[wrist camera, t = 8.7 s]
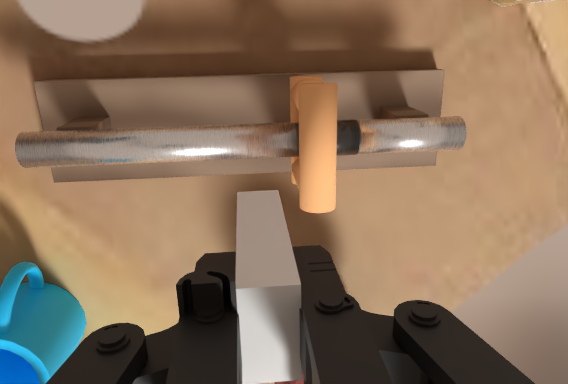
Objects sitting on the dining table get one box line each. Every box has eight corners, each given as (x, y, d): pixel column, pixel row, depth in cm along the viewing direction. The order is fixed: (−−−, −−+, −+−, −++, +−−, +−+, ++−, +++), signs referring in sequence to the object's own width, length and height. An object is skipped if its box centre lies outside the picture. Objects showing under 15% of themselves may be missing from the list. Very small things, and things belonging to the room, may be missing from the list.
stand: (42, 79, 35) (4, 87, 30) (437, 68, 37) (470, 74, 32) (61, 177, 38) (29, 200, 32) (429, 161, 40) (458, 180, 34)
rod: (36, 163, 31) (20, 173, 29) (29, 128, 31) (11, 135, 28) (448, 146, 34) (464, 154, 31) (452, 112, 33) (468, 118, 30)
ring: (288, 76, 34) (300, 87, 26) (319, 75, 34) (341, 85, 26) (290, 177, 36) (301, 213, 29) (319, 175, 36) (338, 212, 29)
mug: (85, 357, 44) (51, 426, 36) (-3, 351, 43) (-58, 420, 35) (88, 248, 40) (51, 298, 32) (-9, 238, 39) (-71, 287, 31)
